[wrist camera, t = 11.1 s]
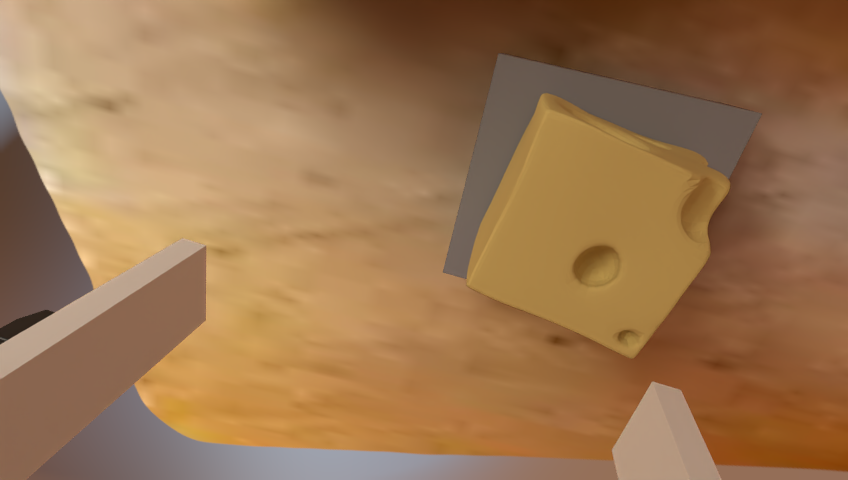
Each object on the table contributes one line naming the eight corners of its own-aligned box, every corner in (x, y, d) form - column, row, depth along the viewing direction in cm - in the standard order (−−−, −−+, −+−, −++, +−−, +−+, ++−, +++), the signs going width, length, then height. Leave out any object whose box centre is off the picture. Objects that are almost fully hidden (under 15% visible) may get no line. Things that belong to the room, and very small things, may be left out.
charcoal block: (502, 53, 34) (498, 53, 28) (721, 102, 32) (762, 113, 27) (453, 242, 40) (442, 272, 35) (633, 291, 39) (651, 330, 33)
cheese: (692, 149, 28) (773, 196, 19) (602, 285, 33) (633, 375, 24) (538, 83, 28) (546, 99, 19) (470, 227, 33) (451, 294, 24)
